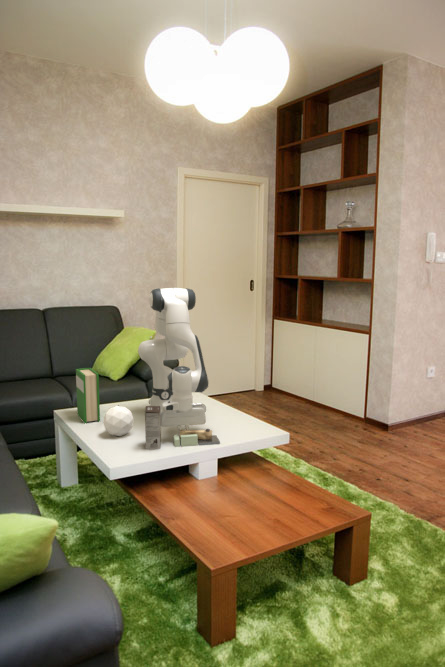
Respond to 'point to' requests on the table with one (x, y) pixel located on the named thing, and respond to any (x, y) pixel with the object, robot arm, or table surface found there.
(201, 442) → the pin plate
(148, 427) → the coffee box
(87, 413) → the hardback book
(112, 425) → the geodesic sphere
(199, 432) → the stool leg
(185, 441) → the seat bracket
